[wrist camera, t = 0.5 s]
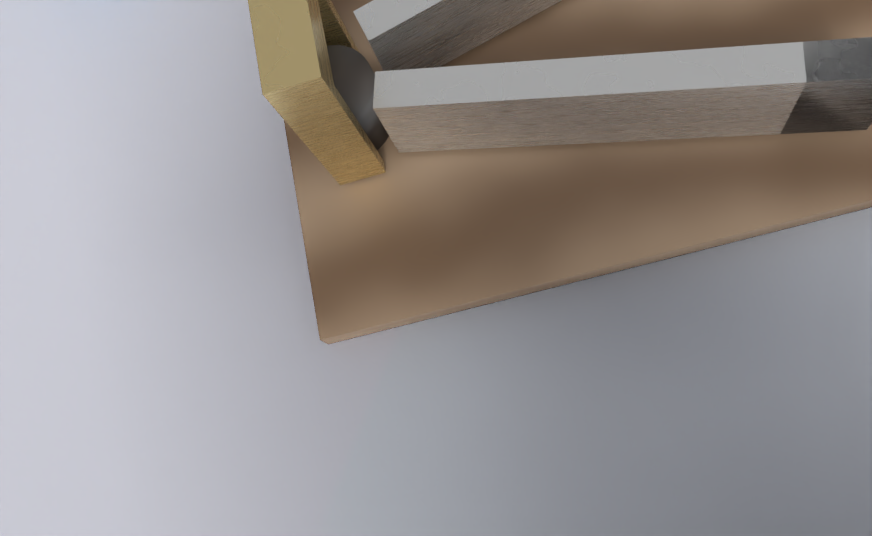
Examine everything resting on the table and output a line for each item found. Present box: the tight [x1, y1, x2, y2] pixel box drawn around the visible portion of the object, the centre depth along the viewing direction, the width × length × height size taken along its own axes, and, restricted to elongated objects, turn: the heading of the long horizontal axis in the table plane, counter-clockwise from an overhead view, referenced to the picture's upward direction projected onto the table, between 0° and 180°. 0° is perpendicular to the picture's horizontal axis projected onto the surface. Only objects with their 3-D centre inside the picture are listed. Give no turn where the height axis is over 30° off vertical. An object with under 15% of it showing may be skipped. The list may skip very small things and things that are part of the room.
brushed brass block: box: [248, 0, 386, 185], centre depth 30 cm, size 6×2×8 cm, turn 13°
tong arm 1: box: [373, 37, 872, 152], centre depth 29 cm, size 18×2×4 cm, turn 89°
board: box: [284, 0, 872, 344], centre depth 31 cm, size 18×26×4 cm
